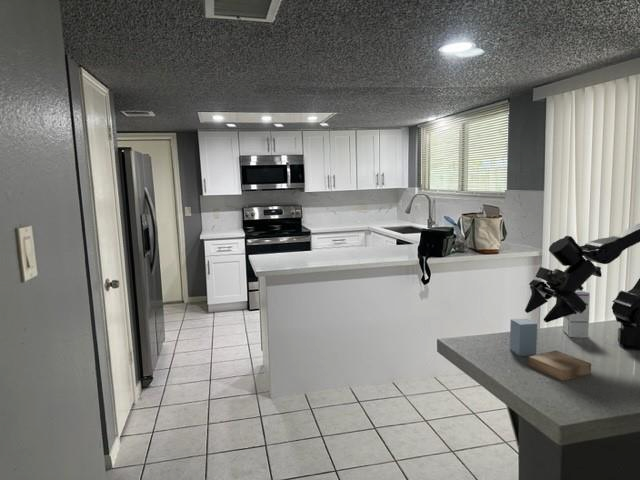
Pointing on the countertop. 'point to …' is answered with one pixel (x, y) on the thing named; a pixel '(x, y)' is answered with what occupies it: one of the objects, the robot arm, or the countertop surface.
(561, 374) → the walnut block
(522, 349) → the slate block
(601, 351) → the countertop surface
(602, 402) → the countertop surface
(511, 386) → the countertop surface
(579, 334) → the syrup box
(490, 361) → the countertop surface
